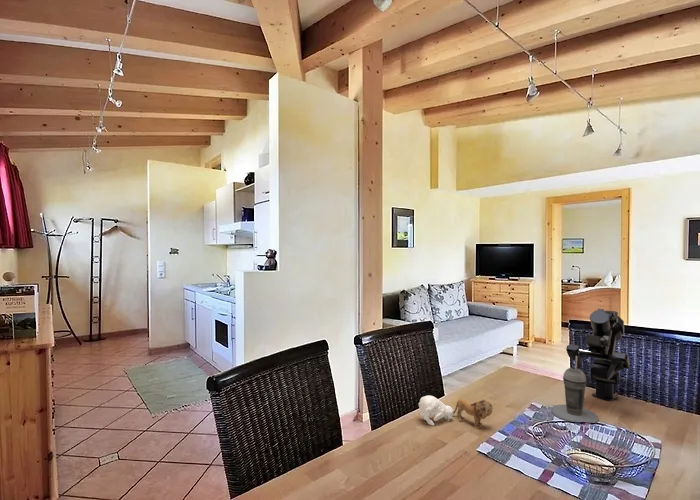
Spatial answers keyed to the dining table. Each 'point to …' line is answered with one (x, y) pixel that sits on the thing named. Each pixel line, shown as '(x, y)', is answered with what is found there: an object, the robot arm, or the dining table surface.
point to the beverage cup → (574, 389)
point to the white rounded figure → (434, 409)
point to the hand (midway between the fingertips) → (592, 376)
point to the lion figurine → (474, 410)
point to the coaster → (562, 413)
